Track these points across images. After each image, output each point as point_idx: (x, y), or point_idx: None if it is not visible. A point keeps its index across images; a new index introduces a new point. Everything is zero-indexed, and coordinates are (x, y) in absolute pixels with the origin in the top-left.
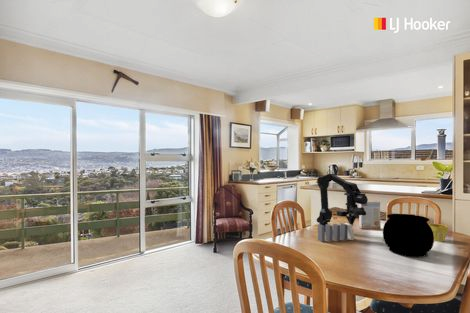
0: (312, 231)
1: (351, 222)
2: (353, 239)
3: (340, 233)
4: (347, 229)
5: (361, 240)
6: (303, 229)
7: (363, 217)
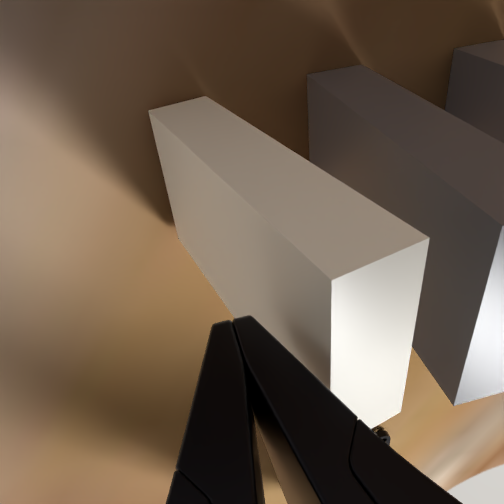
0: (460, 427)
1: (298, 393)
2: (179, 103)
3: None
4: (415, 155)
5: (16, 46)
6: (485, 464)
7: None
